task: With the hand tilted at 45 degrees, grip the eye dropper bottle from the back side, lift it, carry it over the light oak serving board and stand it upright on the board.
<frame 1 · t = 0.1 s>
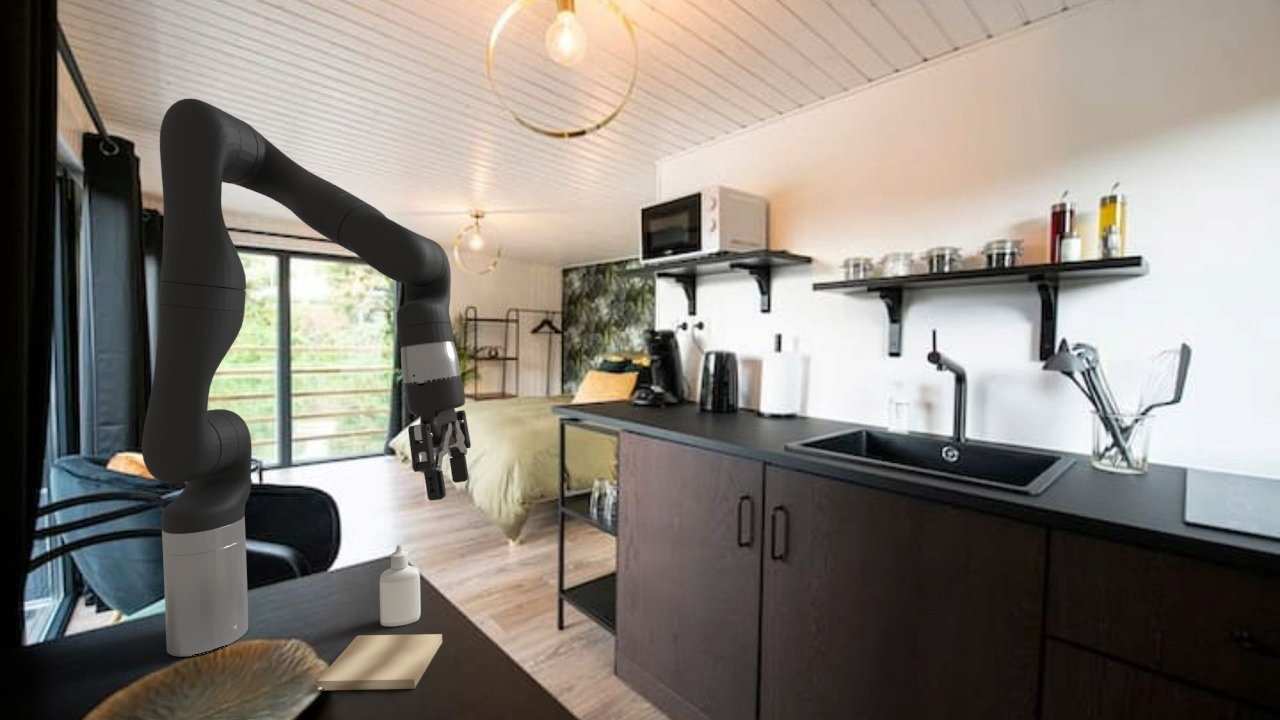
hand: (449, 489, 75), 22 cm above the table, tool pointing down, fingers open, 8 cm apart
oak board: (384, 664, 71), on the table
eye dropper bottle: (400, 621, 82), on the table
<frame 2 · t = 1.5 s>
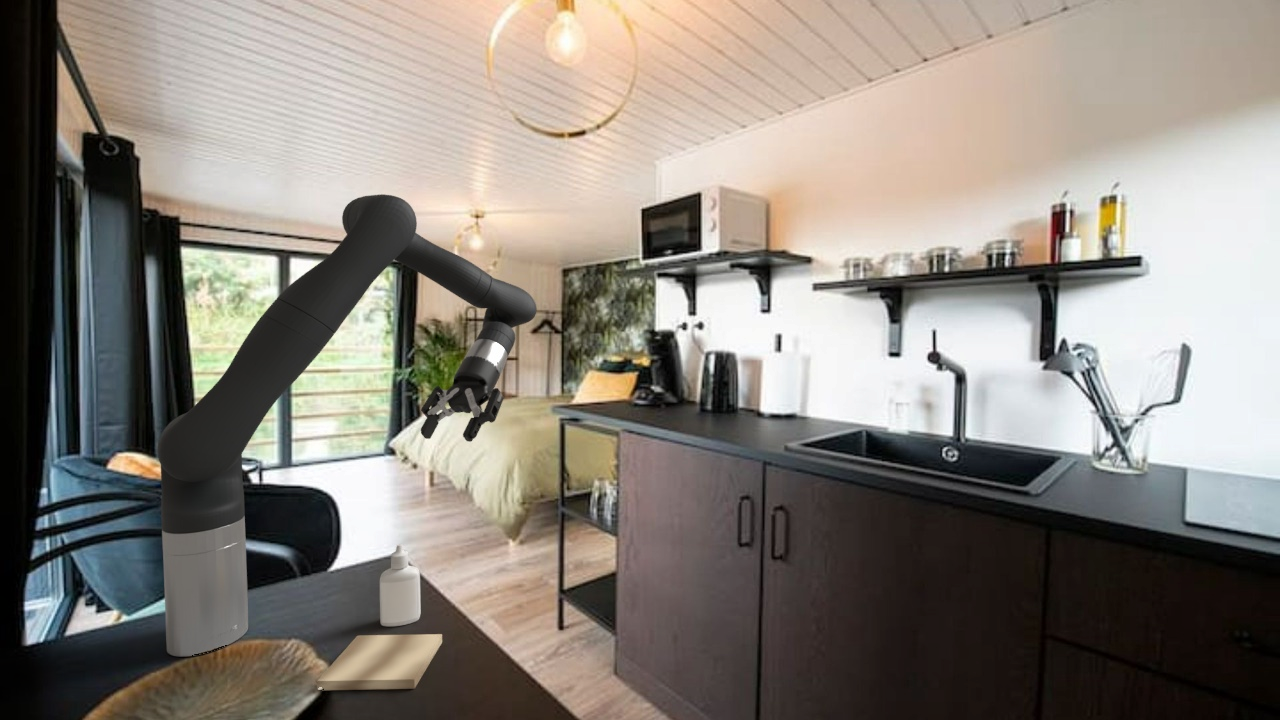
hand: (445, 437, 92), 26 cm above the table, tool tilted 45°, fingers open, 8 cm apart
nothing on the table moved.
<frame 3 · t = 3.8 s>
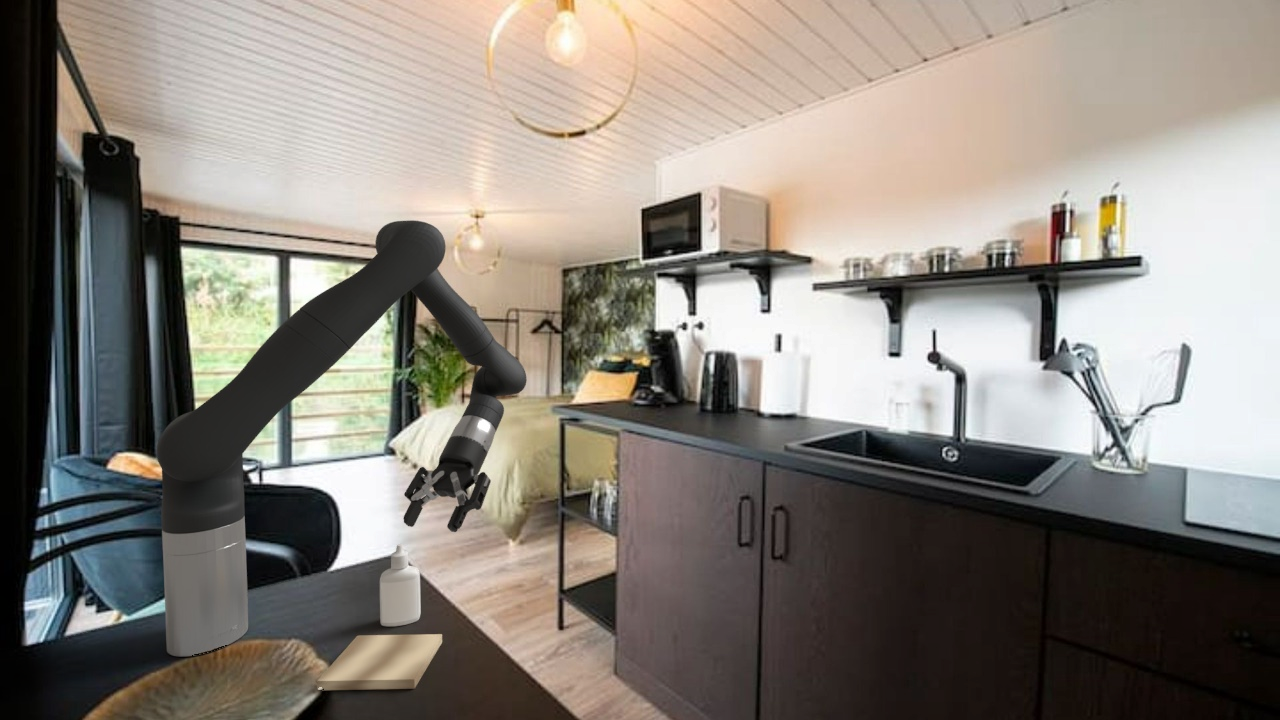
hand: (429, 527, 88), 12 cm above the table, tool tilted 45°, fingers open, 8 cm apart
nothing on the table moved.
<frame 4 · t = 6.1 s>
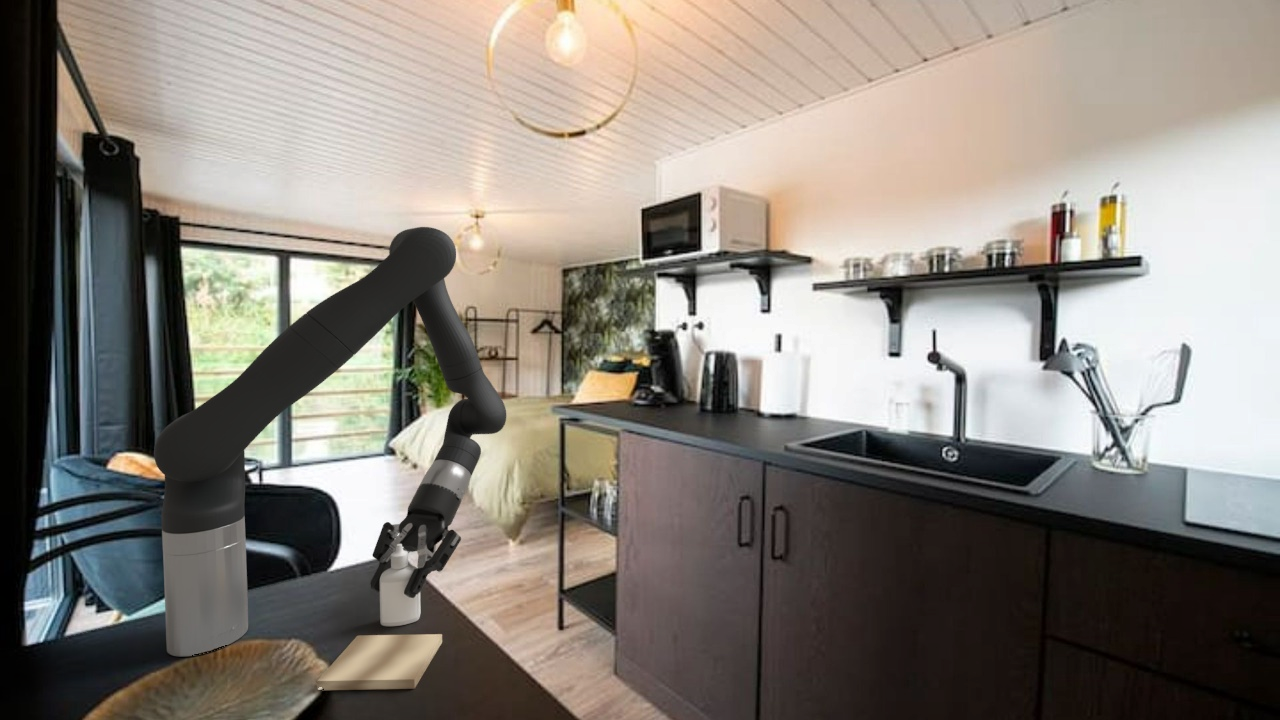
hand: (392, 592, 80), 5 cm above the table, tool tilted 45°, fingers closed on eye dropper bottle, 5 cm apart
eye dropper bottle: (400, 621, 82), on the table, touching gripper
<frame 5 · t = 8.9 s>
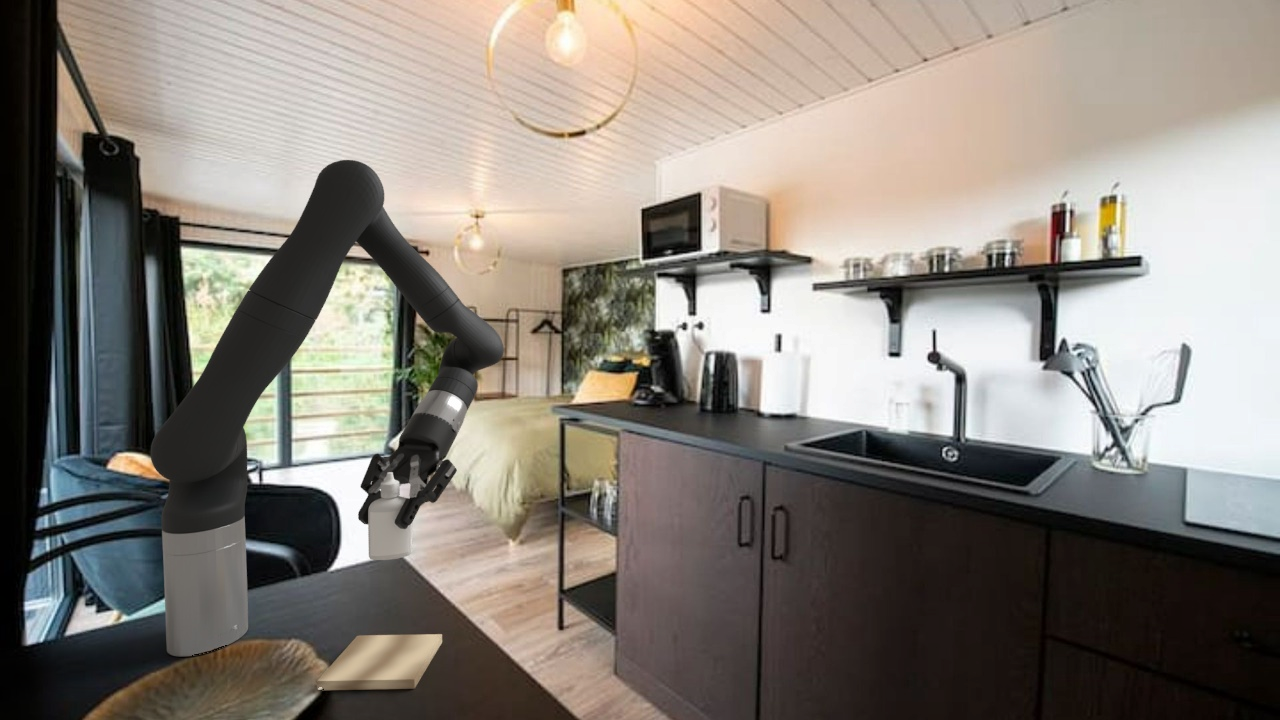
hand: (381, 523, 74), 18 cm above the table, tool tilted 45°, fingers closed on eye dropper bottle, 5 cm apart
eye dropper bottle: (391, 556, 76), point 12 cm above the table, touching gripper
when the fingers open (8 cm above the table, at t = 11.8 s): eye dropper bottle drops 1 cm, resting on oak board.
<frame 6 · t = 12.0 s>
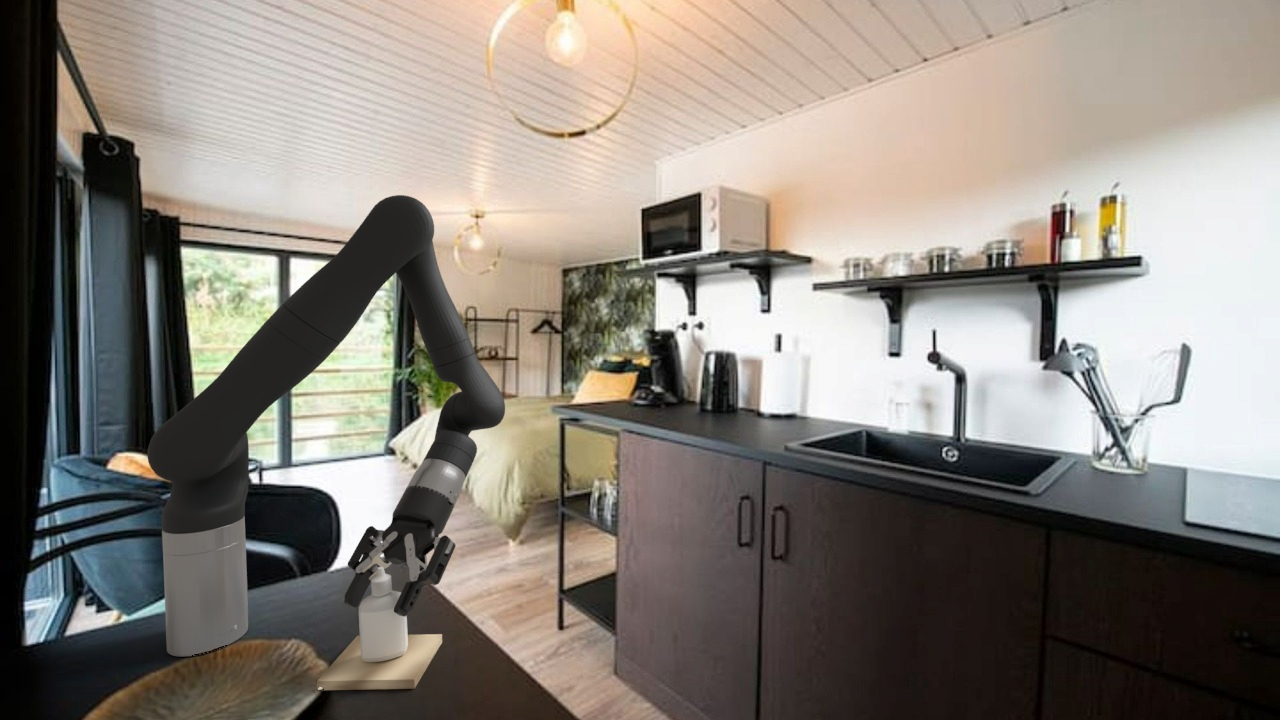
hand: (374, 609, 69), 8 cm above the table, tool tilted 45°, fingers open, 7 cm apart
eye dropper bottle: (385, 655, 71), point 1 cm above the table, touching oak board
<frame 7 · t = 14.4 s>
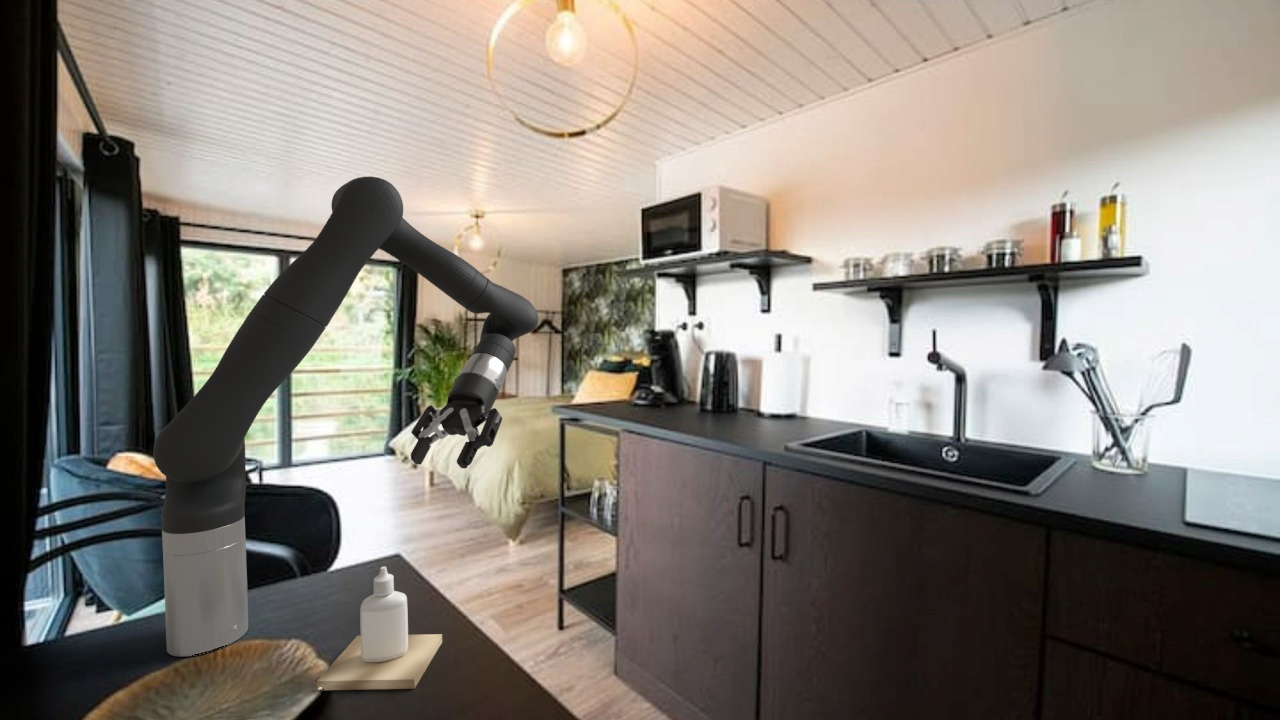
hand: (437, 463, 83), 24 cm above the table, tool tilted 45°, fingers open, 8 cm apart
nothing on the table moved.
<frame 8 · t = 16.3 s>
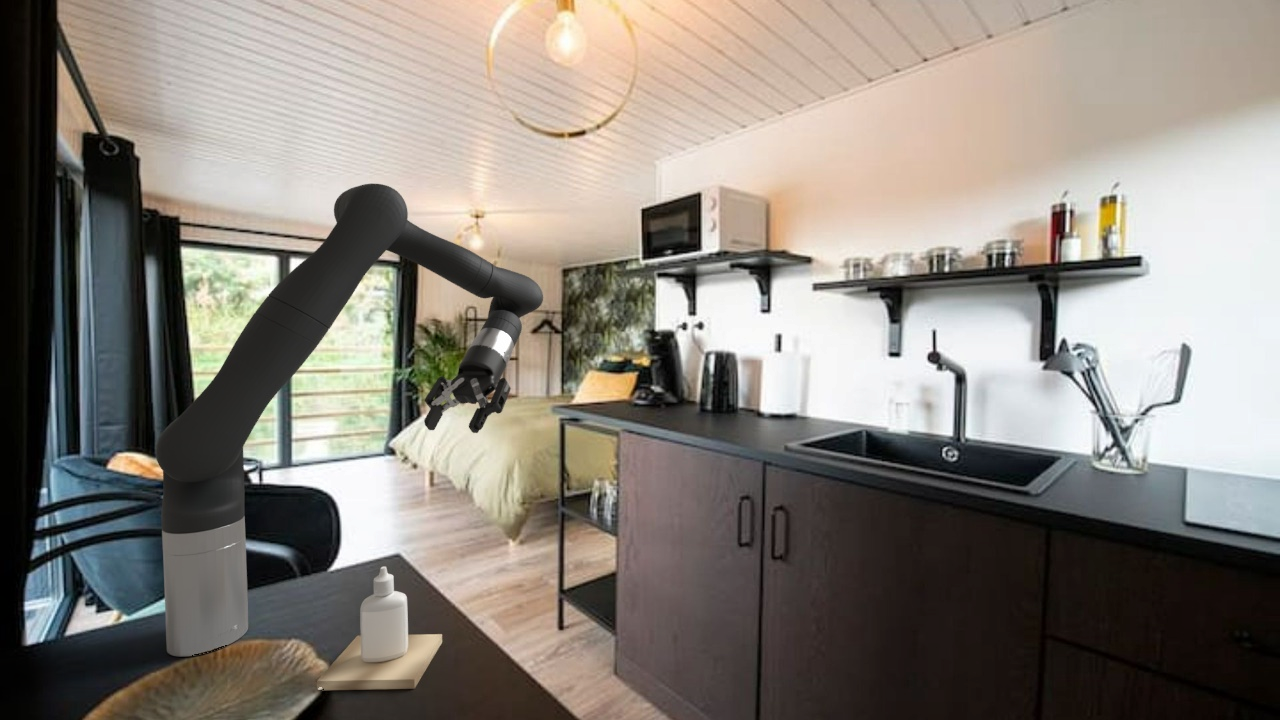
hand: (450, 428, 88), 29 cm above the table, tool tilted 45°, fingers open, 8 cm apart
nothing on the table moved.
at the end: eye dropper bottle inside the target area on the oak board (0.2 cm from its centre), point 1.0 cm above the oak board's base; eye dropper bottle tilted 0°; the gripper is holding nothing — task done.
